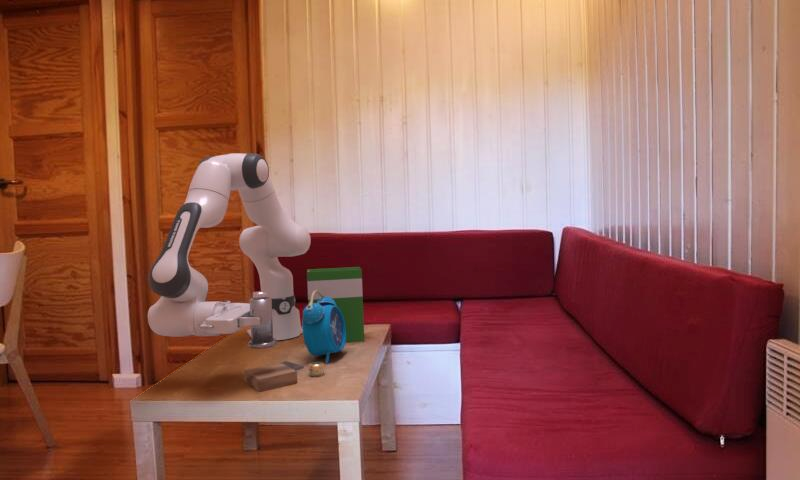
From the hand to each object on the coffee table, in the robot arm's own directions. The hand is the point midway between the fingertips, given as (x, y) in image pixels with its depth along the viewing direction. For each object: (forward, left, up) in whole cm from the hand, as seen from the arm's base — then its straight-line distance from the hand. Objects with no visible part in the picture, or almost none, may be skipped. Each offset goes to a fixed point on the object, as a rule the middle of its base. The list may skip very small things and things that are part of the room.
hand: (264, 317), depth 137 cm
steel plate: (-8, +9, -17) cm, 21 cm away
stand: (+1, +1, -17) cm, 17 cm away
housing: (-1, -1, -7) cm, 7 cm away
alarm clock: (-11, +23, -17) cm, 30 cm away
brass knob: (+3, +13, -17) cm, 21 cm away
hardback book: (-26, +35, -17) cm, 47 cm away
